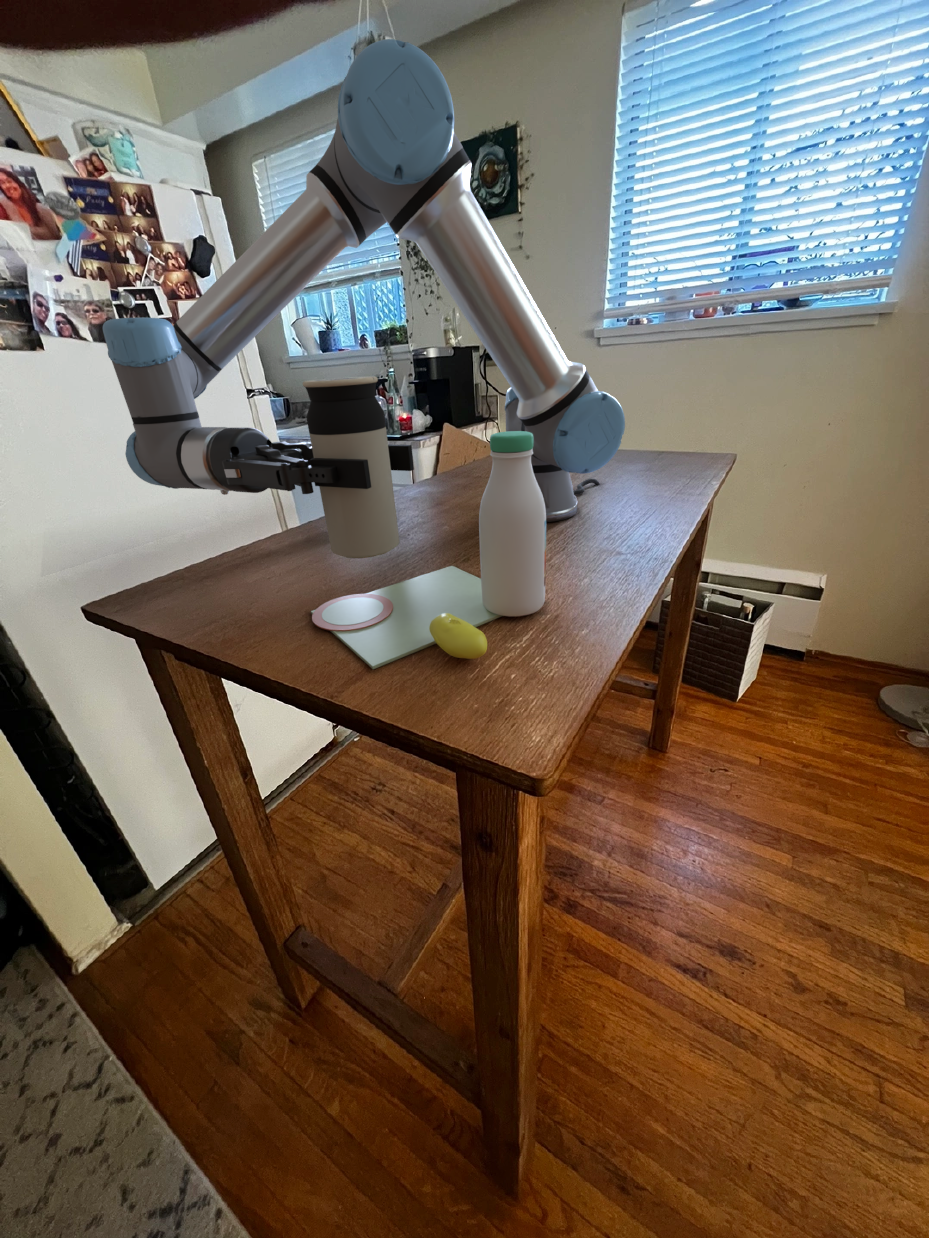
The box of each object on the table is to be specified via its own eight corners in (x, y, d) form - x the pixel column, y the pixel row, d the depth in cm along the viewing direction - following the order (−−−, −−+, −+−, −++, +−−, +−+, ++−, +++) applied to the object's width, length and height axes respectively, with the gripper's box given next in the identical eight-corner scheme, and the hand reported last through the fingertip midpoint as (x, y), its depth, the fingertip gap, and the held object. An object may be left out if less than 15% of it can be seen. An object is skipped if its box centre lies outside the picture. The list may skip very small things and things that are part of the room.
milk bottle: (542, 619, 58) (546, 437, 49) (477, 616, 59) (468, 440, 50) (546, 591, 64) (550, 427, 55) (487, 589, 66) (481, 429, 57)
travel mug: (339, 565, 54) (306, 382, 46) (325, 544, 61) (294, 381, 53) (408, 551, 57) (389, 376, 49) (388, 533, 64) (368, 376, 55)
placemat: (448, 566, 76) (447, 562, 75) (530, 604, 62) (530, 600, 62) (300, 613, 64) (299, 609, 64) (364, 673, 51) (363, 668, 50)
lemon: (451, 629, 57) (450, 599, 55) (497, 661, 51) (497, 628, 49) (420, 642, 55) (417, 611, 53) (465, 676, 49) (464, 643, 47)
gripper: (296, 473, 72) (438, 480, 63) (168, 513, 55) (336, 529, 46) (285, 417, 68) (433, 415, 59) (144, 441, 52) (320, 444, 43)
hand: (390, 465), depth 53 cm, fingers closed on travel mug, 8 cm apart
